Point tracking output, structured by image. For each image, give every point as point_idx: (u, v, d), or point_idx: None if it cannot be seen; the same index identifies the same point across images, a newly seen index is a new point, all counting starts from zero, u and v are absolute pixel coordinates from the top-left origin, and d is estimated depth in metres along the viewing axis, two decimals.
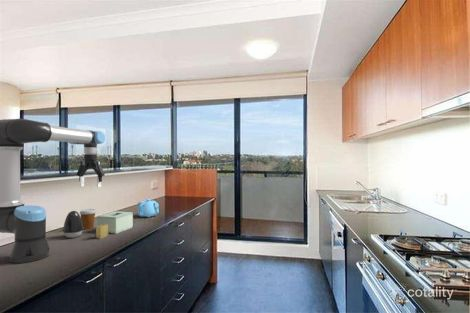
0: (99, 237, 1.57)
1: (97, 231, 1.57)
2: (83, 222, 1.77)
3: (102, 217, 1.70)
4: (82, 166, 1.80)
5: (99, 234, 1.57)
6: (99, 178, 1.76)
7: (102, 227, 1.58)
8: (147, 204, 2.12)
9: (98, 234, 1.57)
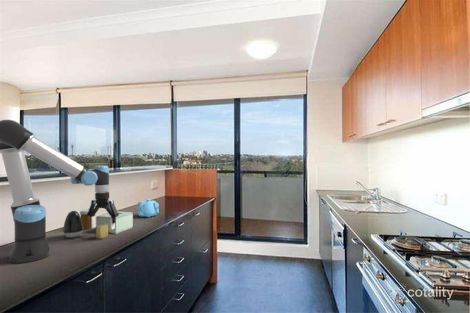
0: (99, 237, 1.57)
1: (97, 231, 1.57)
2: (83, 222, 1.77)
3: (102, 217, 1.70)
4: (93, 205, 1.62)
5: (99, 234, 1.57)
6: (113, 219, 1.58)
7: (102, 227, 1.58)
8: (147, 204, 2.12)
9: (98, 234, 1.57)
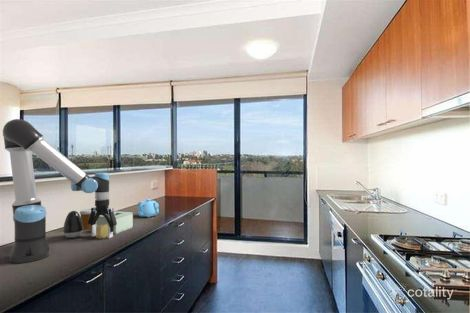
0: (99, 237, 1.57)
1: (97, 231, 1.57)
2: (83, 222, 1.77)
3: (102, 217, 1.70)
4: (93, 213, 1.62)
5: (99, 234, 1.57)
6: (111, 228, 1.58)
7: (102, 227, 1.58)
8: (147, 204, 2.12)
9: (98, 234, 1.57)
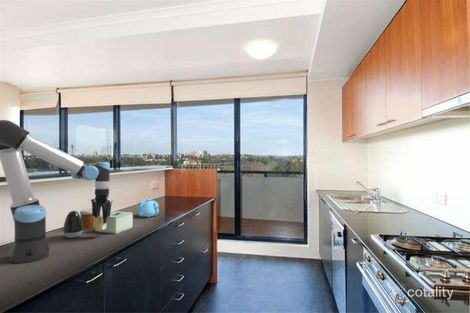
0: (98, 229, 1.57)
1: (96, 223, 1.57)
2: (83, 222, 1.77)
3: None
4: (94, 204, 1.61)
5: (98, 226, 1.57)
6: (104, 219, 1.58)
7: None
8: (147, 204, 2.12)
9: (97, 226, 1.57)
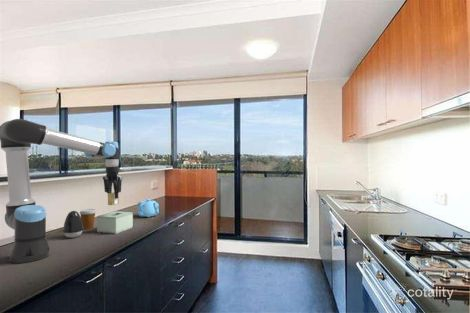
0: (111, 203, 1.69)
1: (109, 198, 1.70)
2: (83, 222, 1.77)
3: (102, 217, 1.70)
4: (106, 181, 1.73)
5: (110, 201, 1.69)
6: (115, 195, 1.71)
7: None
8: (147, 204, 2.12)
9: (110, 201, 1.69)
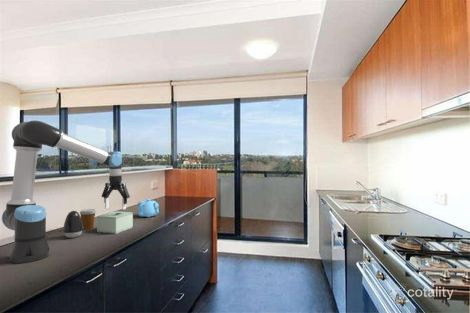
0: None
1: None
2: (83, 222, 1.77)
3: (102, 217, 1.70)
4: (107, 187, 1.78)
5: None
6: (124, 200, 1.74)
7: None
8: (147, 204, 2.12)
9: None
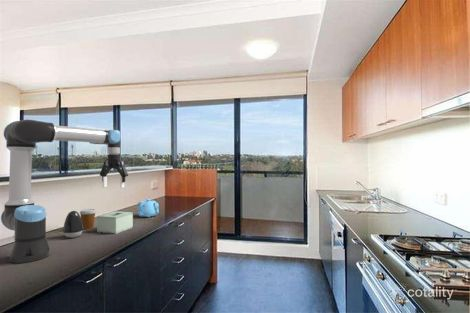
0: None
1: None
2: (83, 222, 1.77)
3: (102, 217, 1.70)
4: (105, 166, 1.78)
5: None
6: (122, 178, 1.74)
7: None
8: (147, 204, 2.12)
9: None
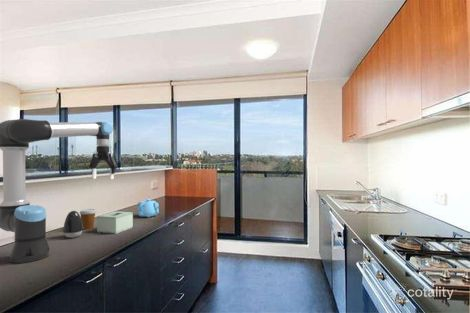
0: None
1: None
2: (83, 222, 1.77)
3: (102, 217, 1.70)
4: (94, 158, 1.79)
5: None
6: (112, 170, 1.74)
7: None
8: (147, 204, 2.12)
9: None
